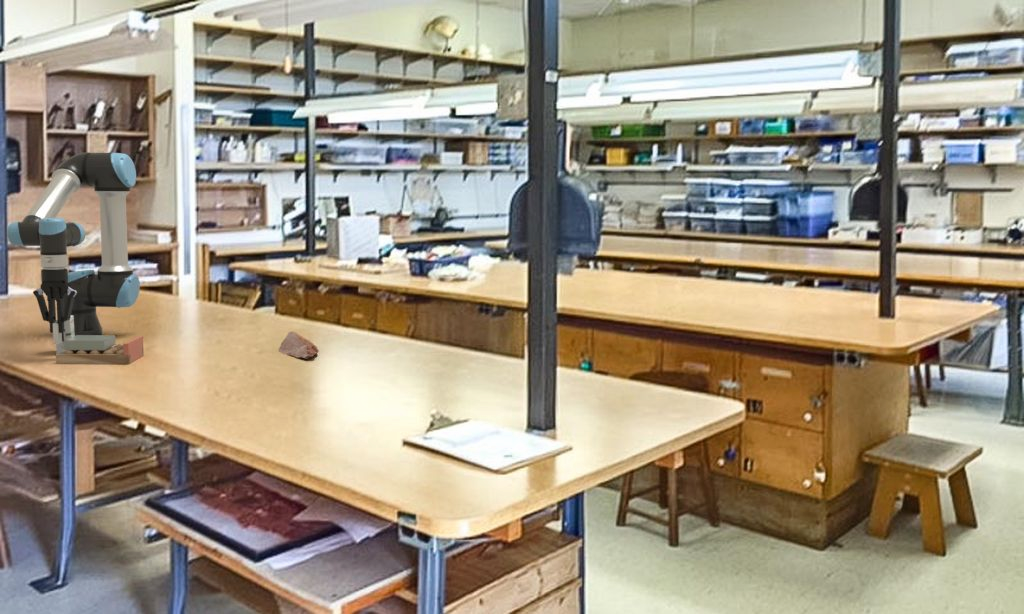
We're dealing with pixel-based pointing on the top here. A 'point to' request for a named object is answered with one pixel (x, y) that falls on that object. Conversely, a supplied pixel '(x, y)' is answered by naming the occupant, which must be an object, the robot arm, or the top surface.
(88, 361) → the roller bed
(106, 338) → the stone slab
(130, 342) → the stop rail
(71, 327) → the ink box
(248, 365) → the top surface
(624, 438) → the top surface
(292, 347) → the rock
